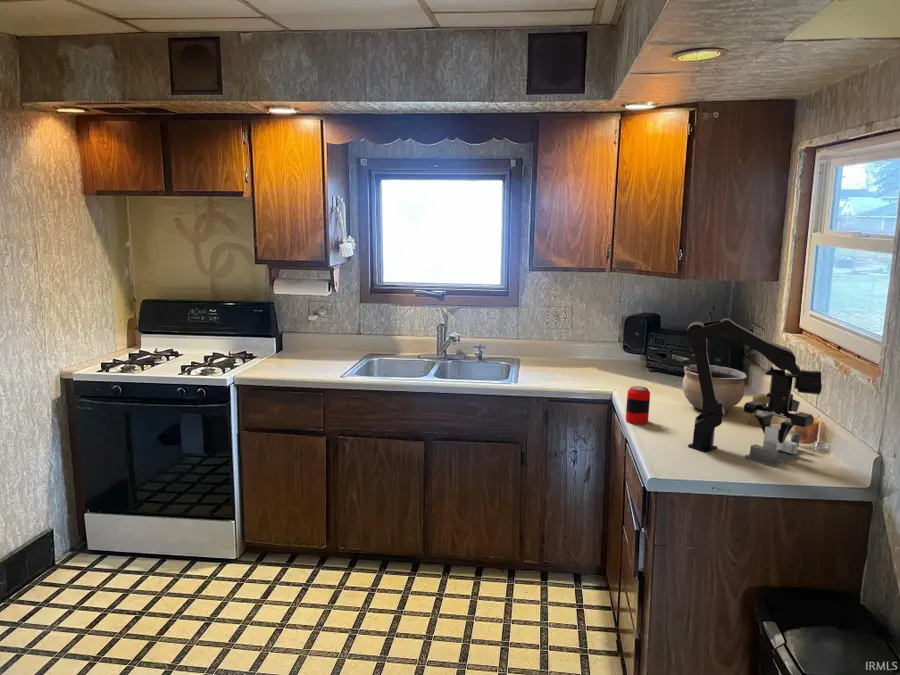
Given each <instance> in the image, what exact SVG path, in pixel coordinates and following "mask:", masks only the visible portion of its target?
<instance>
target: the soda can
mask: <svg viewBox="0 0 900 675" xmlns="http://www.w3.org/2000/svg"><path fill="white" fill-rule="evenodd" d="M626 394H627V395H626V409H625V420H626V422H627V423H629V424H632V425H640V426H641V425H646V424H647V423H648V422H649V417H650V416H649V413H650V400H651V399H650V398H651V392H650V390H649V389H648V388H647V387H646V386H642V385H641V386H640V385H632V386H630V388H628V390H627V393H626Z"/></svg>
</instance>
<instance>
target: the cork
mask: <svg viewBox="0 0 900 675" xmlns="http://www.w3.org/2000/svg"><path fill="white" fill-rule="evenodd" d="M752 401H758V402H762V403H765V405H766V406H768V401H769V397H767V393H760V392H757V393H754V394H753V395H752ZM755 415H756V412H754V413H753V414H751V413H750V418H749V422H748V424H749V425H750V426H752V427H754V428H755V427H756V428H762V427H761V425H760V423H759V421H758V419H757V418H756V417H755Z"/></svg>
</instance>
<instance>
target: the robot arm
mask: <svg viewBox="0 0 900 675" xmlns="http://www.w3.org/2000/svg"><path fill="white" fill-rule="evenodd" d="M723 334H726V335H728V336H730V337H732V338H733V339H735V340H736V341H739V342H741V343H742V344H743V345H745V346H748V347H749V348H751V349H753V350H754V351H755V352H758V353H759V354H761V355H762V356H764V358H766V359H767V360H768V361H769V362H770V363H771V364H773V365H774V366H775V367H777V368H774V367H773V365H771V366H769V368H767V369H765V370H764V374H765V376H770V385H769V392H768V393H766V395H767V397H769V401H768V404H767V406H766V405H765V403H762V402H758V401H753V400H751V401H748V402H746V403H744V405H743V410H742V411H743V412H744V413H746V414H747V413H748V414H750V415H751V414H753V413H754V412H756V415H755V417H756V418H757V419H758V421H759V423H760V425H761V427H760V428H761V429H762V432H763V434H765V426H768V425H771V423H772V422H771V421H772V419H773V418H774V417H778V418H783V419H785V421H783V422H780V425H781V430H780V443H783V442H784V440H785V438H787V437H788V435H789V433H790V432H791V430H792V428H793V427H794V426H797V427H801V428H807V427H809V426H812V425H814V421H815V417H814V416H813V414H812V413H811V414H810V413H806V412H804V411H803V412H801V411H799V412H798V410H799V406H800V404H801V403H800V401H799V400H796V399H794V394H793V393H792V390H793V389H794V390H796V391H797V393H798V394H799V393H800V394H810V395H817V396H818V395H819V396H820V395H821V393H822V386H823V385H822V371H820V370H805V369H801V368H800V366H799V365H797V363H796V361H797V358H796V356H795V354H794V352H793V350H792V349H791V348H788V347H786V346H783V345H781V344H778V343H775V342H771V341H768V340H766V339H764V338H763V337H761V336H759V335H757V334H755V333H753V332H752V331H750V330H748V329H746V328H745V327H742V326H741V325H739V324H738V323H736V322H734V321H732V320H731V319H730V318H727V317H726V318H722V319H720V320H712V321H706V322H701V321H694V322H693V321H692V323H690V324H689V325H688V327H687V330H686V338H687V341H688V343H689V345H690V348H691V350H692V353H693V355H694V360H695V365H697V371H698V376H699V381H700V387H701V392H702V397H703V403H702V410H701V411H702V412H701V413H700V414H698V415H697V416H696V417H695V419H694V428H693V435H692V443H689V444H687V447H689V448H691V449H695V450H698V451H701V452H704V453H708V452H711V451H714V450H716V449H718V446H717V445H714V442H715V441H714V439H715V430H716V428H717V427H719V426H721V424H722V423H723V418H724V417H726V416H725V414H726V413H725V412H726V411H724V409H723V407H722V399H719V400H717V397H716V395H715V392H714V386H713V381H712V376H711V370H710V365H711V364H710V361H709V355H708V338H709V339H710V338H713V337H717V336H720V335H723ZM786 371H787V372H786ZM793 379H794V380H793ZM793 381H794V382H793ZM792 387H793V389H792ZM791 412H793V413H791ZM794 412H795V413H794ZM773 416H774V417H773Z"/></svg>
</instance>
